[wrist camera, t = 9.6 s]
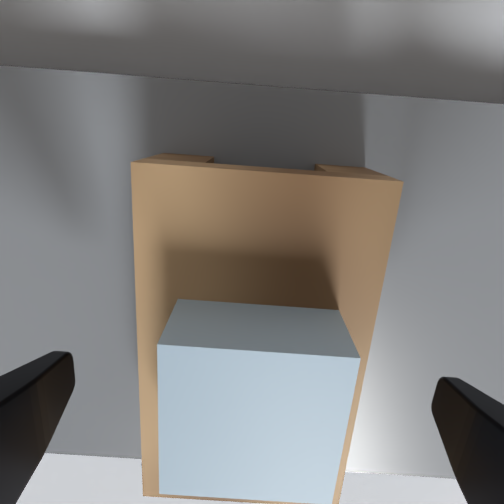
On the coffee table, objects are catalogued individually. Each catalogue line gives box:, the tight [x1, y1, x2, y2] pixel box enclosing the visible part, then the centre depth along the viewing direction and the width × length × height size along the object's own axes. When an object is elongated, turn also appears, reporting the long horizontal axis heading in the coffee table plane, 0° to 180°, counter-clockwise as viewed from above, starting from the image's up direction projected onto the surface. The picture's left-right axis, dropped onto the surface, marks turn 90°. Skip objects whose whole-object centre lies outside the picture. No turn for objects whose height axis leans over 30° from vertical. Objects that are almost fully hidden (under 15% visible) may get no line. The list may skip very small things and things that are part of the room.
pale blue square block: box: [157, 299, 361, 504], centre depth 9 cm, size 4×4×2 cm
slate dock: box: [0, 65, 504, 479], centre depth 13 cm, size 20×14×2 cm
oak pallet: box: [131, 153, 404, 504], centre depth 11 cm, size 6×10×3 cm, turn 176°
